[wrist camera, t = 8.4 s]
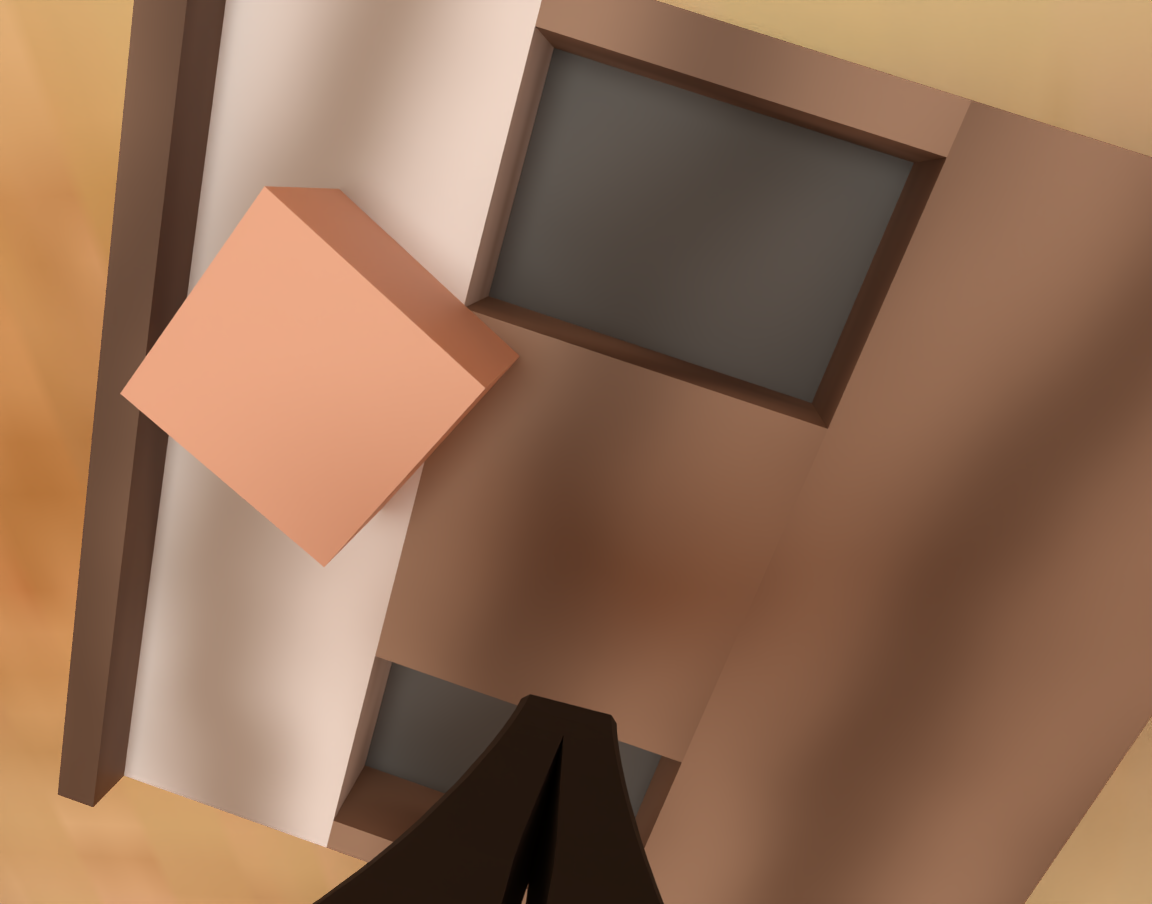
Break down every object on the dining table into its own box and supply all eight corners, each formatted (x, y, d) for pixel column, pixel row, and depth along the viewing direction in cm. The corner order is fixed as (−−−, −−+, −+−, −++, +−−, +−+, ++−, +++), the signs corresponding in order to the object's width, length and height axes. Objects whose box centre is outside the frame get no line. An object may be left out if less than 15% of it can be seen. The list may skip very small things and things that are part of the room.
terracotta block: (519, 356, 17) (485, 388, 14) (380, 510, 18) (323, 566, 15) (339, 188, 16) (264, 186, 13) (211, 362, 18) (120, 393, 15)
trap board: (1349, 248, 16) (1533, 260, 13) (895, 971, 23) (933, 1107, 20) (261, -98, 17) (151, -176, 13) (148, 708, 24) (57, 794, 21)
